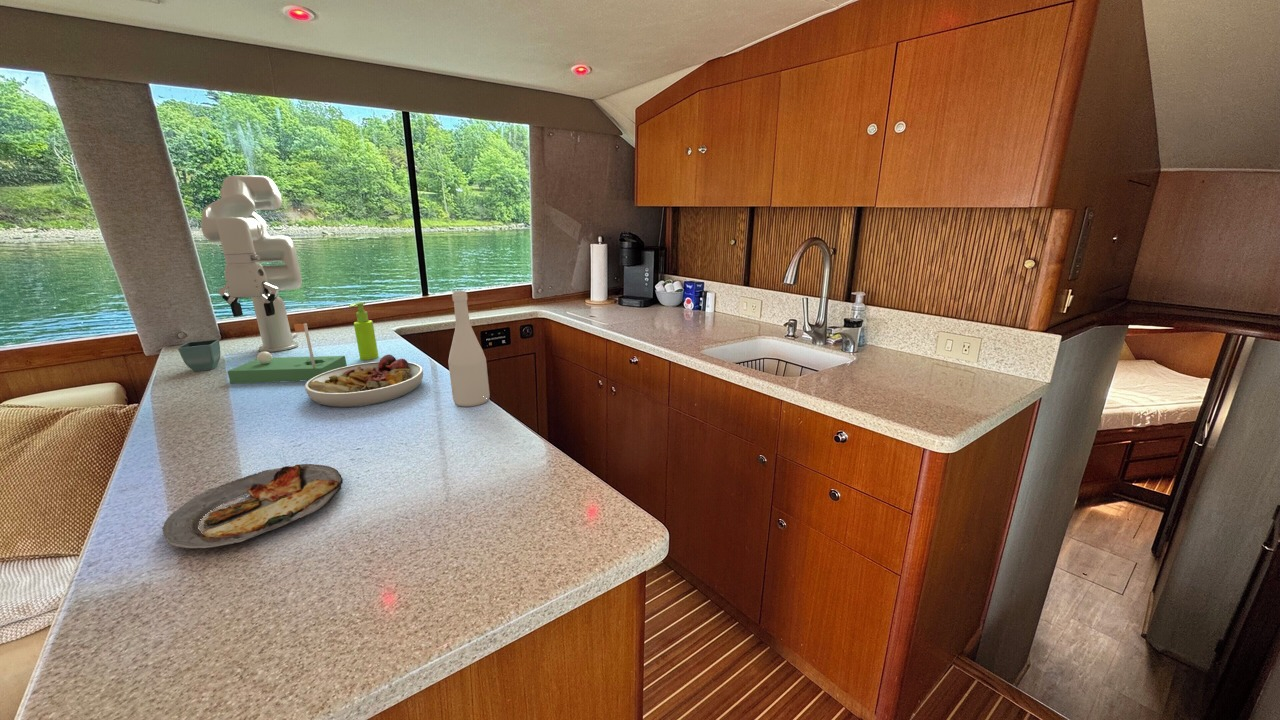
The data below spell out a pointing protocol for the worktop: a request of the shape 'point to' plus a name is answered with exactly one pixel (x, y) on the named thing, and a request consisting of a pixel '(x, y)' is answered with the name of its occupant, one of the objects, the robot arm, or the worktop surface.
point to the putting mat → (286, 366)
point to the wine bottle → (466, 359)
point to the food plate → (253, 505)
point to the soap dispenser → (365, 334)
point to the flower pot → (201, 354)
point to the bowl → (365, 383)
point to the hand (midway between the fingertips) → (254, 315)
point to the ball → (264, 357)
